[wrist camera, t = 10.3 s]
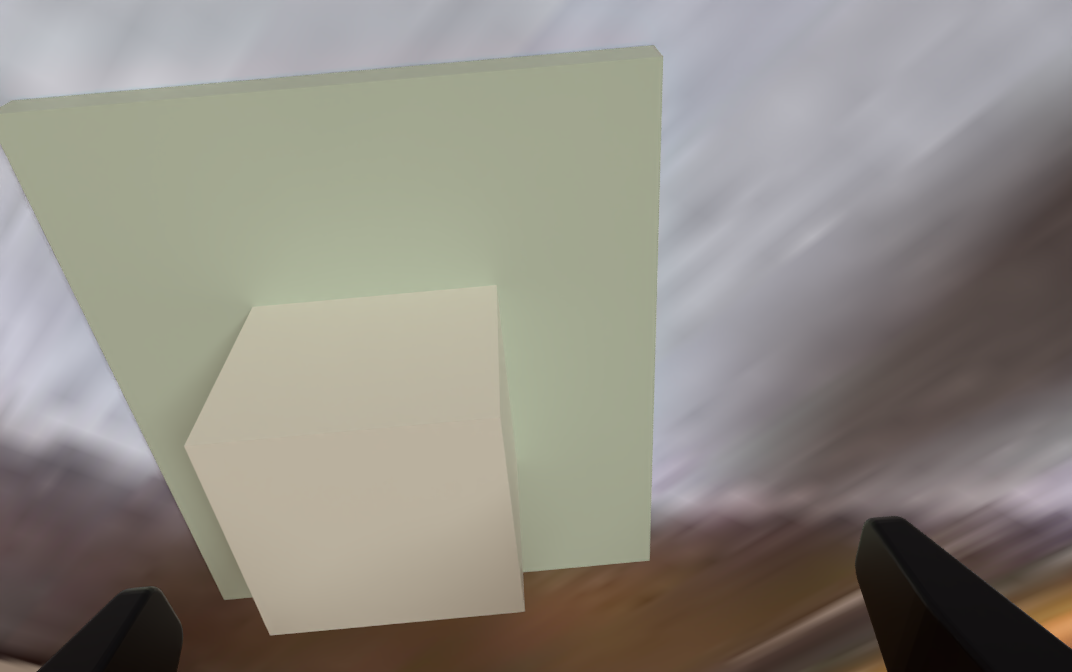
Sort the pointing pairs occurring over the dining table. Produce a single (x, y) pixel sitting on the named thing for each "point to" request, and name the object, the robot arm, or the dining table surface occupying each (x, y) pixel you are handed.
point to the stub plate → (379, 250)
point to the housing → (367, 461)
